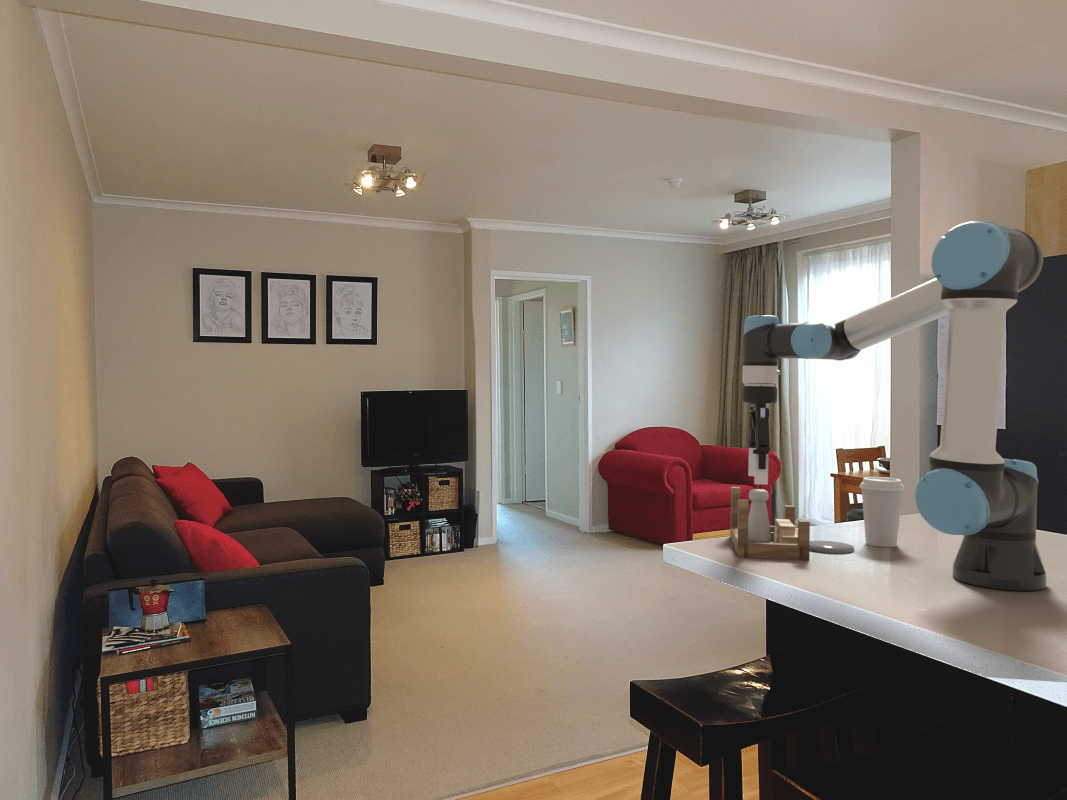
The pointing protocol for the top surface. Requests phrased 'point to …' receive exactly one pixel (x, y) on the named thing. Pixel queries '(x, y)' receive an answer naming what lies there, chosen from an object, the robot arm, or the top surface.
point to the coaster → (830, 547)
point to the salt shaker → (758, 517)
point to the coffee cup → (881, 510)
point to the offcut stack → (785, 532)
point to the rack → (770, 549)
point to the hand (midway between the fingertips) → (757, 480)
